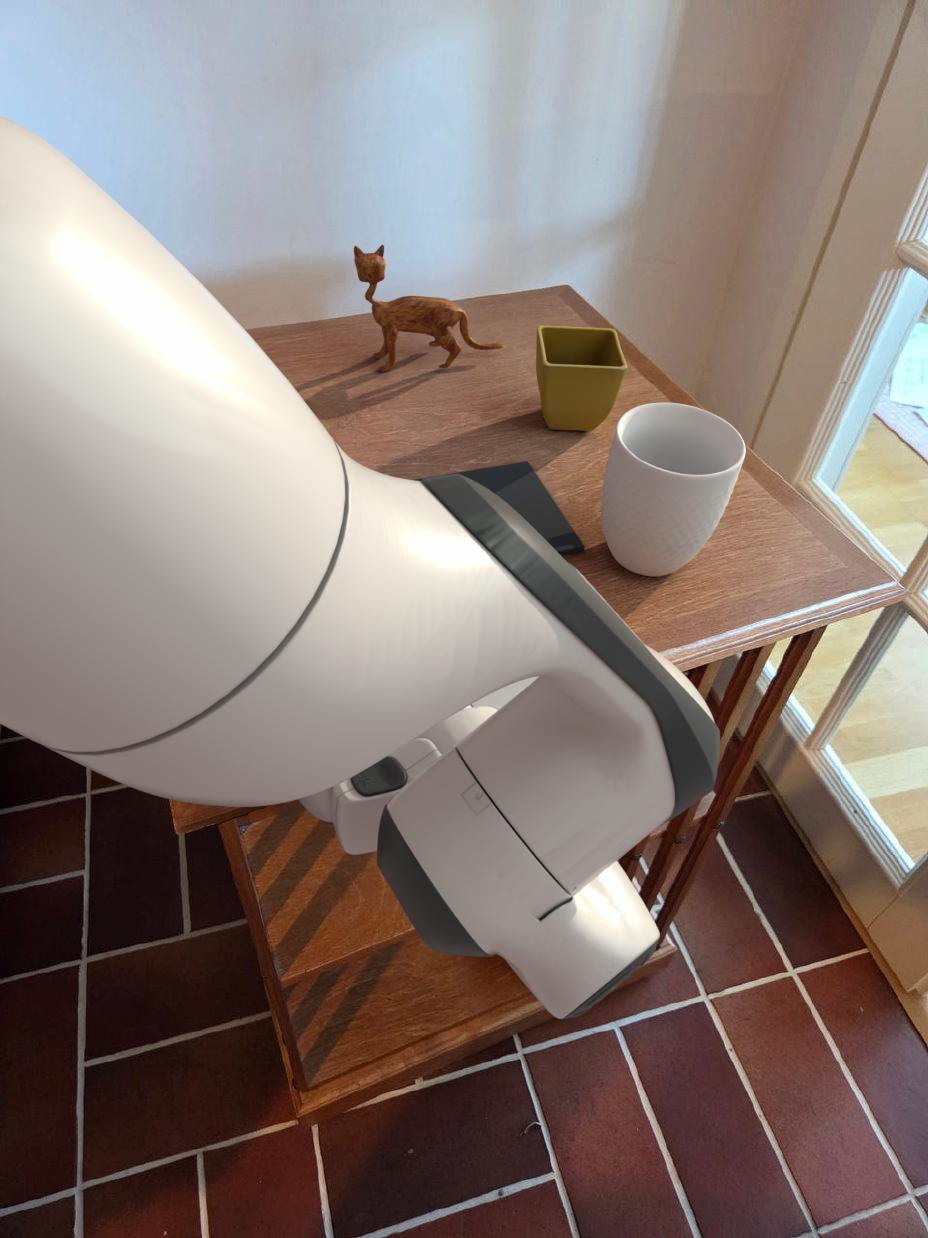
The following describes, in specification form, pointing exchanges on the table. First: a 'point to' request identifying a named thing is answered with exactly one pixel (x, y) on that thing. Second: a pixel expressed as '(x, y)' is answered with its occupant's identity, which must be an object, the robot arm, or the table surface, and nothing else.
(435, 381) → the table surface
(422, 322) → the cat figurine
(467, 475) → the slate mat
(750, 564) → the table surface
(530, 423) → the table surface
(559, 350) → the flower pot
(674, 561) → the mug
